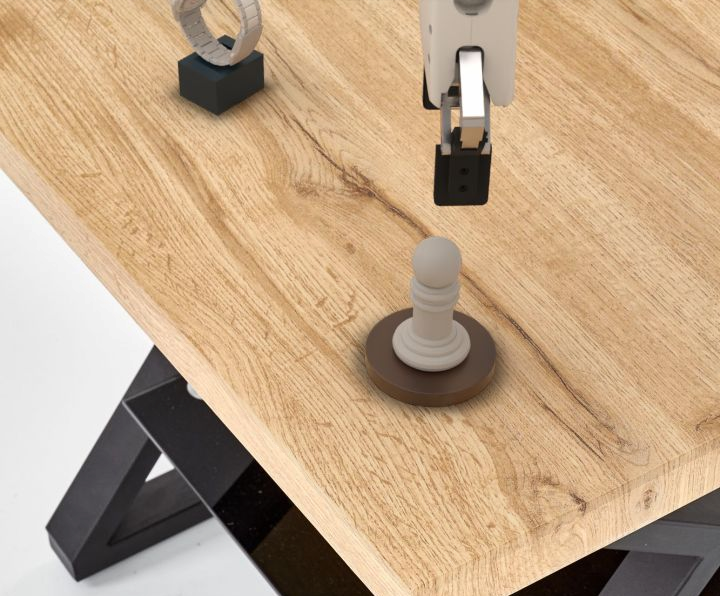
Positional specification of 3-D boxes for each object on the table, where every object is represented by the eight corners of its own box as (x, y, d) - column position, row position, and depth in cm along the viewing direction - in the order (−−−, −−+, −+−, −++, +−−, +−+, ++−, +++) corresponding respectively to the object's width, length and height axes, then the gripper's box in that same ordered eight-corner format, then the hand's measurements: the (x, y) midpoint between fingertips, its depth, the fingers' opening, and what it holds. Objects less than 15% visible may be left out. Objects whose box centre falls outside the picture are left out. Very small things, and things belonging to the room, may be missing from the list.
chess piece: (381, 330, 109) (386, 225, 102) (454, 316, 110) (463, 211, 103) (406, 381, 106) (413, 276, 99) (481, 366, 107) (493, 261, 100)
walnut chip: (488, 318, 112) (490, 305, 111) (501, 406, 106) (502, 393, 105) (362, 319, 112) (362, 306, 111) (367, 407, 106) (368, 394, 105)
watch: (210, 59, 133) (203, -65, 125) (280, 95, 130) (277, -29, 121) (162, 86, 130) (152, -38, 122) (232, 124, 127) (227, -1, 118)
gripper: (560, -34, 78) (530, 242, 91) (522, -194, 89) (501, 72, 102) (408, -31, 77) (400, 245, 90) (389, -192, 89) (385, 74, 102)
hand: (453, 153), depth 96 cm, fingers open, 9 cm apart
